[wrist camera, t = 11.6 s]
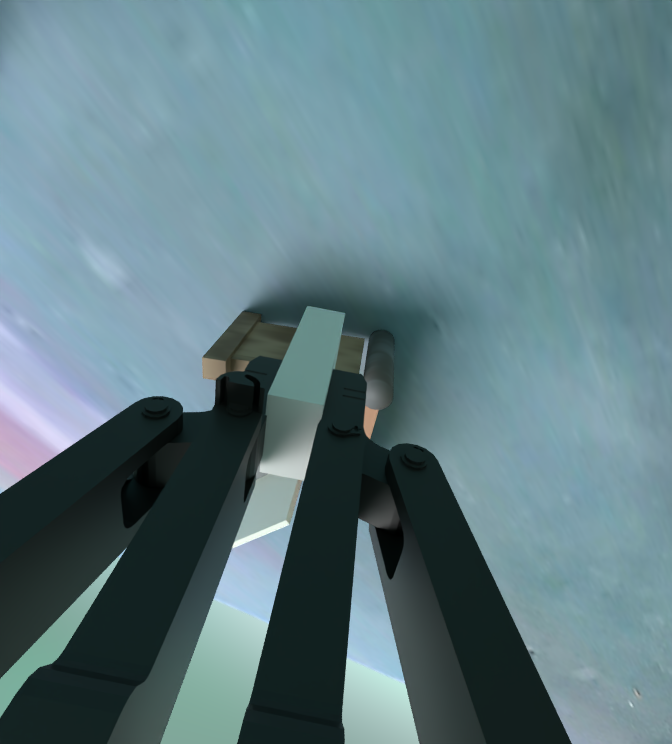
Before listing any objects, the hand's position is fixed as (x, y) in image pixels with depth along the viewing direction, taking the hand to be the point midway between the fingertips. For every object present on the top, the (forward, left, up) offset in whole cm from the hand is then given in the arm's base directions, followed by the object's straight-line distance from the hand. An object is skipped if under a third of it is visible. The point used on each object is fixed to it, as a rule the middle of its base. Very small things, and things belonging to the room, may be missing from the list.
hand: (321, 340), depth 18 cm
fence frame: (-3, -10, -23) cm, 25 cm away
